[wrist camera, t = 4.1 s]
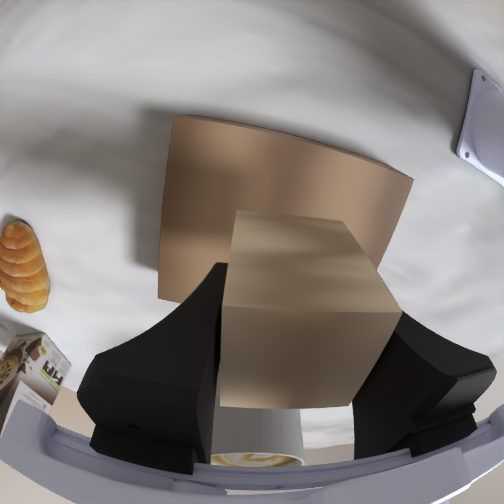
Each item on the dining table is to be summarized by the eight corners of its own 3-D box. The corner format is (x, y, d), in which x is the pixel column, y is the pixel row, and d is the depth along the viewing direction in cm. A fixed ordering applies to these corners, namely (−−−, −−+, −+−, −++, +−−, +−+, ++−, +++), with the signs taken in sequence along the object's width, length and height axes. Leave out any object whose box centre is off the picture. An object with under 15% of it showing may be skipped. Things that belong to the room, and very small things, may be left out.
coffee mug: (299, 358, 26) (311, 449, 17) (293, 404, 31) (299, 475, 22) (168, 359, 26) (147, 443, 18) (189, 405, 31) (178, 473, 23)
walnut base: (392, 167, 17) (414, 179, 14) (336, 304, 22) (345, 329, 20) (187, 114, 15) (174, 116, 13) (168, 274, 21) (157, 298, 18)
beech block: (342, 220, 11) (402, 312, 6) (320, 303, 14) (348, 405, 8) (236, 210, 11) (222, 305, 6) (230, 298, 13) (220, 405, 8)
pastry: (3, 209, 18) (-21, 226, 15) (49, 226, 19) (24, 247, 16) (14, 283, 23) (-3, 303, 19) (56, 303, 24) (40, 327, 20)
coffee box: (44, 330, 26) (-12, 432, 12) (73, 365, 29) (32, 464, 15) (14, 334, 27) (-34, 416, 13) (39, 364, 30) (1, 445, 16)
